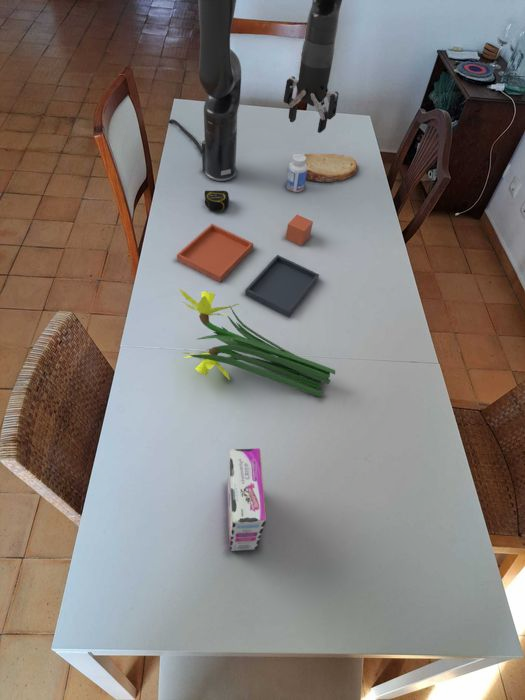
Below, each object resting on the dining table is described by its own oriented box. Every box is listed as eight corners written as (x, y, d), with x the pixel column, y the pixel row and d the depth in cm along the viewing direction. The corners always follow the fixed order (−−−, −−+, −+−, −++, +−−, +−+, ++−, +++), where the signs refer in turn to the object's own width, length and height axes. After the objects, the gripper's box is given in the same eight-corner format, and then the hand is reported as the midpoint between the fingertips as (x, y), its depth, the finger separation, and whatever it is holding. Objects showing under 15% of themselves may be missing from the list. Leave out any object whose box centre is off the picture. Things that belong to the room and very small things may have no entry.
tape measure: (228, 199, 132) (228, 188, 129) (229, 214, 128) (229, 203, 125) (204, 199, 131) (204, 187, 128) (204, 214, 127) (204, 202, 124)
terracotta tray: (177, 260, 115) (176, 254, 114) (212, 229, 124) (211, 223, 122) (220, 282, 112) (220, 276, 110) (252, 249, 120) (253, 243, 119)
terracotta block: (285, 238, 124) (287, 223, 120) (294, 229, 126) (296, 214, 122) (301, 246, 122) (304, 231, 118) (310, 236, 125) (313, 221, 121)
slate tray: (245, 295, 110) (245, 289, 109) (276, 260, 118) (277, 254, 117) (288, 317, 107) (289, 311, 105) (317, 280, 115) (319, 274, 114)
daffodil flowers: (313, 432, 91) (145, 369, 85) (306, 396, 104) (161, 340, 99) (352, 361, 85) (175, 288, 79) (340, 333, 98) (187, 270, 93)
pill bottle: (304, 183, 140) (309, 153, 132) (303, 193, 137) (308, 163, 129) (286, 180, 140) (290, 151, 132) (285, 191, 137) (289, 161, 129)
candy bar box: (259, 550, 76) (267, 521, 63) (229, 552, 75) (231, 524, 62) (254, 484, 83) (260, 446, 69) (226, 486, 82) (228, 448, 69)
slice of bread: (361, 167, 148) (364, 156, 145) (337, 193, 138) (340, 182, 135) (312, 148, 152) (314, 137, 149) (286, 172, 142) (287, 161, 139)
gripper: (349, 63, 110) (335, 129, 123) (298, 46, 113) (290, 112, 126) (336, 74, 106) (323, 141, 119) (283, 56, 109) (276, 122, 122)
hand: (306, 126), depth 123 cm, fingers open, 8 cm apart
